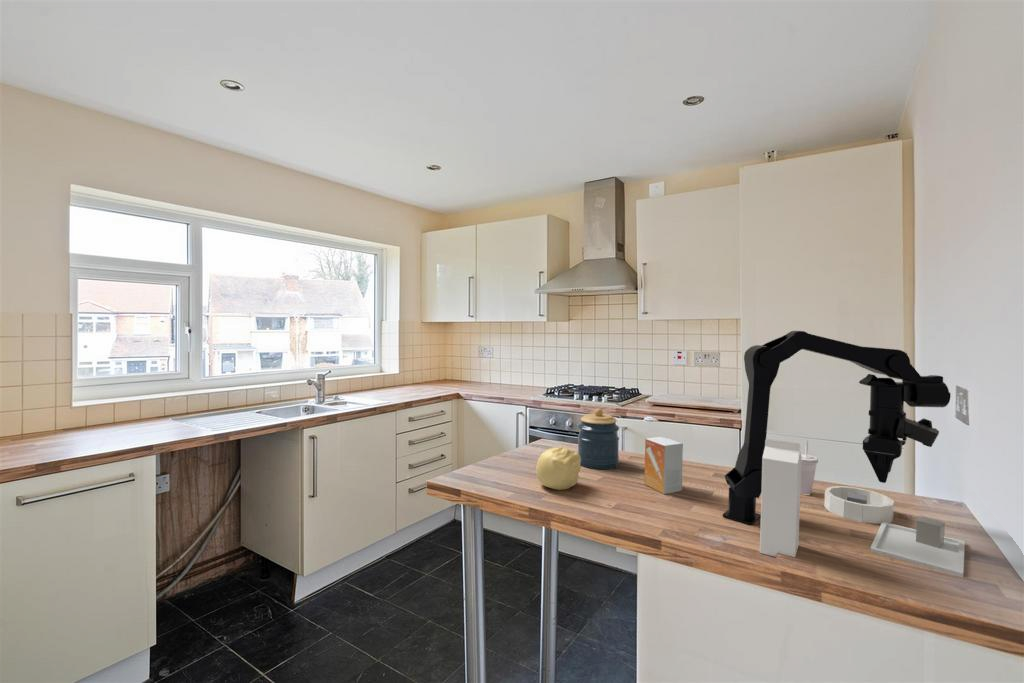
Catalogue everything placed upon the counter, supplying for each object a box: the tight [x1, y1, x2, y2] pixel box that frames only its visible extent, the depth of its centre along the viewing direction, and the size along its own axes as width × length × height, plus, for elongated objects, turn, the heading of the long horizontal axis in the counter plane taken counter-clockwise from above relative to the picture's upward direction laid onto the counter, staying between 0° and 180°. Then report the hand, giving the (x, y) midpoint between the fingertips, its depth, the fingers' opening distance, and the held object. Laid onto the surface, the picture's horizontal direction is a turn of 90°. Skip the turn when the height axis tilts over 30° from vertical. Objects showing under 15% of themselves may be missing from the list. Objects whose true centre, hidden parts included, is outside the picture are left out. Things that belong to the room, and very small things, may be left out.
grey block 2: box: [915, 515, 946, 548], centre depth 94 cm, size 4×4×4 cm
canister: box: [577, 407, 620, 470], centre depth 149 cm, size 13×13×18 cm
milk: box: [759, 438, 802, 558], centre depth 92 cm, size 6×6×22 cm
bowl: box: [824, 485, 895, 525], centre depth 110 cm, size 13×13×5 cm
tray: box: [869, 522, 966, 578], centre depth 92 cm, size 17×13×2 cm
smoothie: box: [800, 440, 819, 495], centre depth 124 cm, size 6×6×14 cm
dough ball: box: [535, 445, 582, 491], centre depth 129 cm, size 12×12×11 cm
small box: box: [643, 436, 684, 495], centre depth 127 cm, size 8×6×13 cm
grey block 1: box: [847, 492, 867, 504], centre depth 108 cm, size 4×4×4 cm
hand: (884, 477), depth 103 cm, fingers open, 9 cm apart
